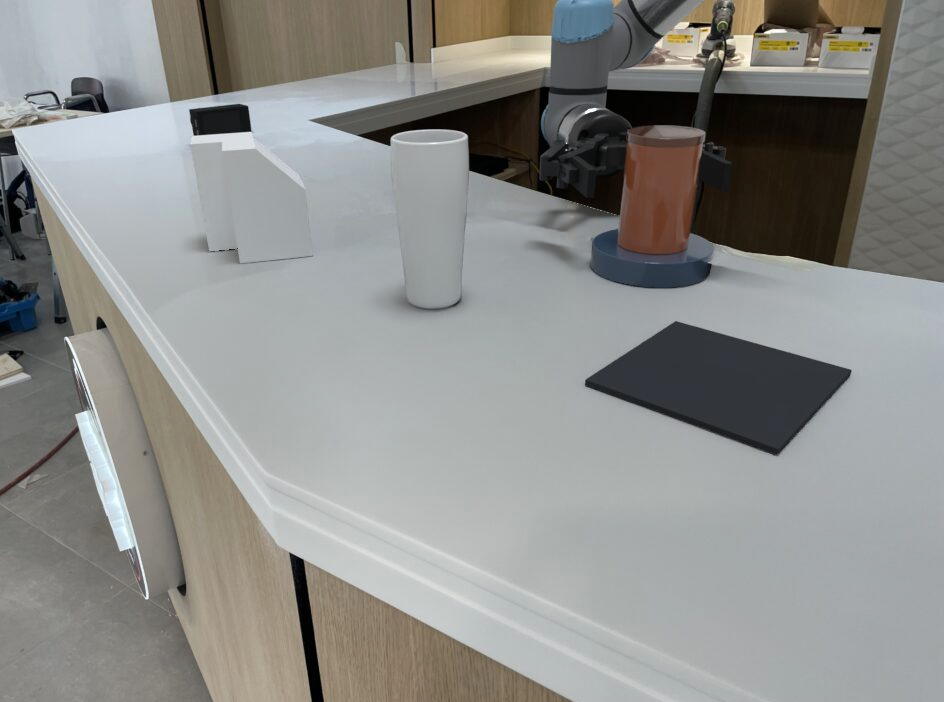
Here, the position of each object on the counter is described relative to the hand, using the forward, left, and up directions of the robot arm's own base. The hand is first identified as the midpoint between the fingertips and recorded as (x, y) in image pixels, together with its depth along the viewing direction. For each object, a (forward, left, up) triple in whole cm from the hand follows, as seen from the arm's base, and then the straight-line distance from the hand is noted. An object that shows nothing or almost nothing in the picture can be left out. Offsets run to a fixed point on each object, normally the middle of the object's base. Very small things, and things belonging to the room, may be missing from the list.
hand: (659, 180), depth 71 cm
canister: (0, 0, -6) cm, 6 cm away
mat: (-16, +19, -9) cm, 26 cm away
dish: (0, 0, -9) cm, 9 cm away
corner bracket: (+38, +22, -9) cm, 45 cm away
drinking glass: (+11, +21, -9) cm, 25 cm away
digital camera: (+99, -12, -9) cm, 100 cm away
